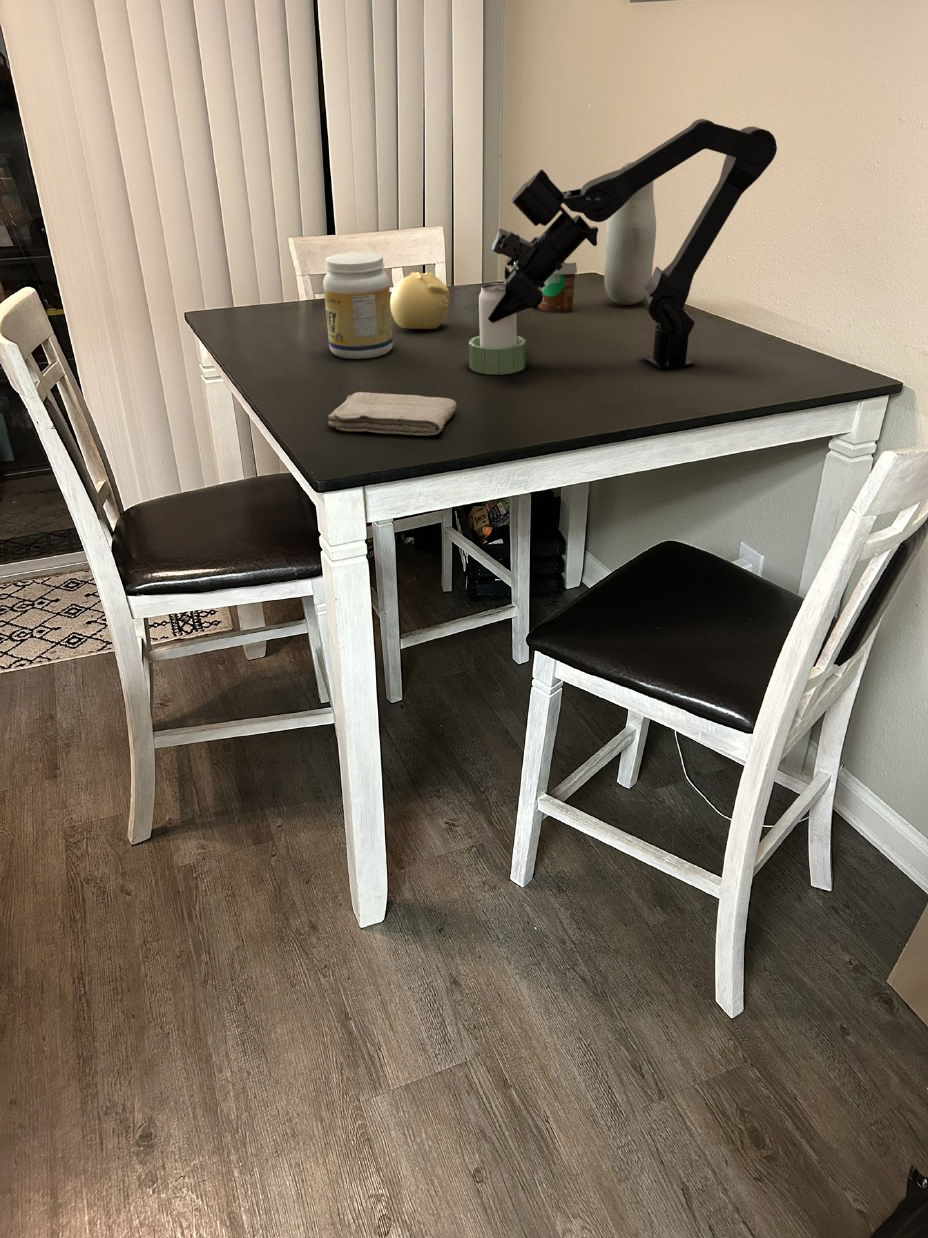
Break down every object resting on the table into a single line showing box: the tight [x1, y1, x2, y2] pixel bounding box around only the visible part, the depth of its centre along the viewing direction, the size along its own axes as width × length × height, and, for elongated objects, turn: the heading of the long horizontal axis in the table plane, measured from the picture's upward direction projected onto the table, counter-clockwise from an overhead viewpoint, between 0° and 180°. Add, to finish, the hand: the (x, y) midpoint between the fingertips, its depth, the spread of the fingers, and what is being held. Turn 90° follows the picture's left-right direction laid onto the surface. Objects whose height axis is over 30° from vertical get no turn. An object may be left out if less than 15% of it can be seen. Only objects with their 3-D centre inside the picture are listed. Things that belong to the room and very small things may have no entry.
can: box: [478, 282, 518, 348], centre depth 160 cm, size 6×6×12 cm
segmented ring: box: [468, 335, 527, 376], centre depth 163 cm, size 10×10×4 cm
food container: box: [537, 261, 578, 313], centre depth 197 cm, size 12×6×10 cm, turn 25°
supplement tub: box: [322, 251, 394, 360], centre depth 170 cm, size 12×12×17 cm
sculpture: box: [390, 271, 450, 330], centre depth 186 cm, size 12×12×11 cm
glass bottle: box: [603, 161, 657, 306], centre depth 194 cm, size 10×10×28 cm
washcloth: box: [327, 391, 458, 437], centre depth 140 cm, size 12×18×3 cm, turn 77°
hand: (489, 315), depth 159 cm, fingers closed on can, 6 cm apart
